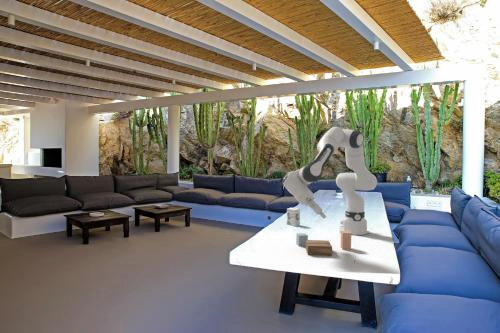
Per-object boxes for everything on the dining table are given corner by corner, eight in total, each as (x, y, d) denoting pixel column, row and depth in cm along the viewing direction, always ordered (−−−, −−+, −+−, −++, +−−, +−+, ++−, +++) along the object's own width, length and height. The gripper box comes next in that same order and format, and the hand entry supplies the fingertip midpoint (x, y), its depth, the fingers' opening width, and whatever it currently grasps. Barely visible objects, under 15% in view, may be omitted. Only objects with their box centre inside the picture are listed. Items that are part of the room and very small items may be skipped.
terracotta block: (340, 247, 187) (340, 231, 187) (348, 247, 187) (349, 231, 187) (342, 249, 183) (342, 232, 182) (350, 249, 182) (351, 233, 182)
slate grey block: (296, 243, 193) (296, 233, 192) (304, 243, 193) (305, 233, 193) (298, 246, 188) (299, 235, 188) (307, 246, 188) (307, 235, 188)
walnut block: (305, 249, 184) (305, 239, 184) (328, 249, 183) (328, 240, 183) (307, 255, 172) (307, 245, 172) (331, 256, 171) (332, 246, 171)
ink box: (300, 225, 242) (300, 209, 241) (294, 226, 239) (295, 209, 238) (291, 223, 248) (291, 207, 248) (286, 224, 245) (286, 207, 245)
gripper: (312, 195, 174) (331, 215, 174) (307, 191, 194) (324, 209, 194) (303, 204, 174) (322, 223, 174) (299, 199, 195) (316, 216, 195)
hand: (323, 216), depth 184 cm, fingers open, 8 cm apart
